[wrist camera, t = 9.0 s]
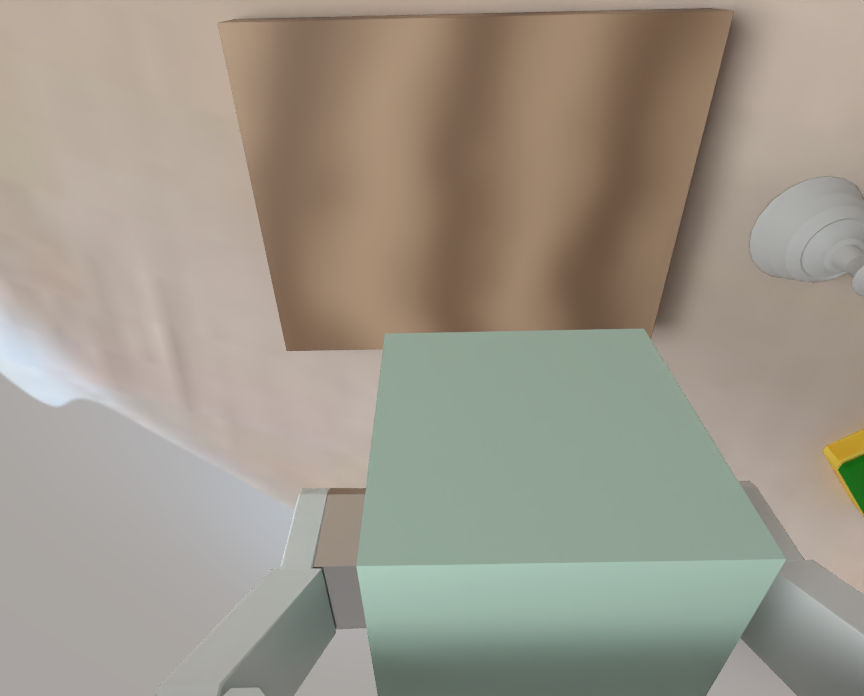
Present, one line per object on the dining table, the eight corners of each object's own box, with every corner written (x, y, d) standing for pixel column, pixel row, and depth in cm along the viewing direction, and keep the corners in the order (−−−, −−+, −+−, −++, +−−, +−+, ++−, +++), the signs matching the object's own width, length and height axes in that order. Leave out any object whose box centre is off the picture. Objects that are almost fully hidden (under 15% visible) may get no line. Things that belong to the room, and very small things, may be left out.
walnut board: (709, 8, 20) (734, 10, 19) (636, 323, 28) (649, 344, 27) (234, 18, 20) (217, 22, 19) (295, 329, 28) (286, 351, 27)
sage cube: (643, 328, 10) (786, 558, 6) (602, 500, 13) (681, 737, 9) (384, 334, 10) (356, 566, 6) (398, 503, 13) (385, 741, 9)
